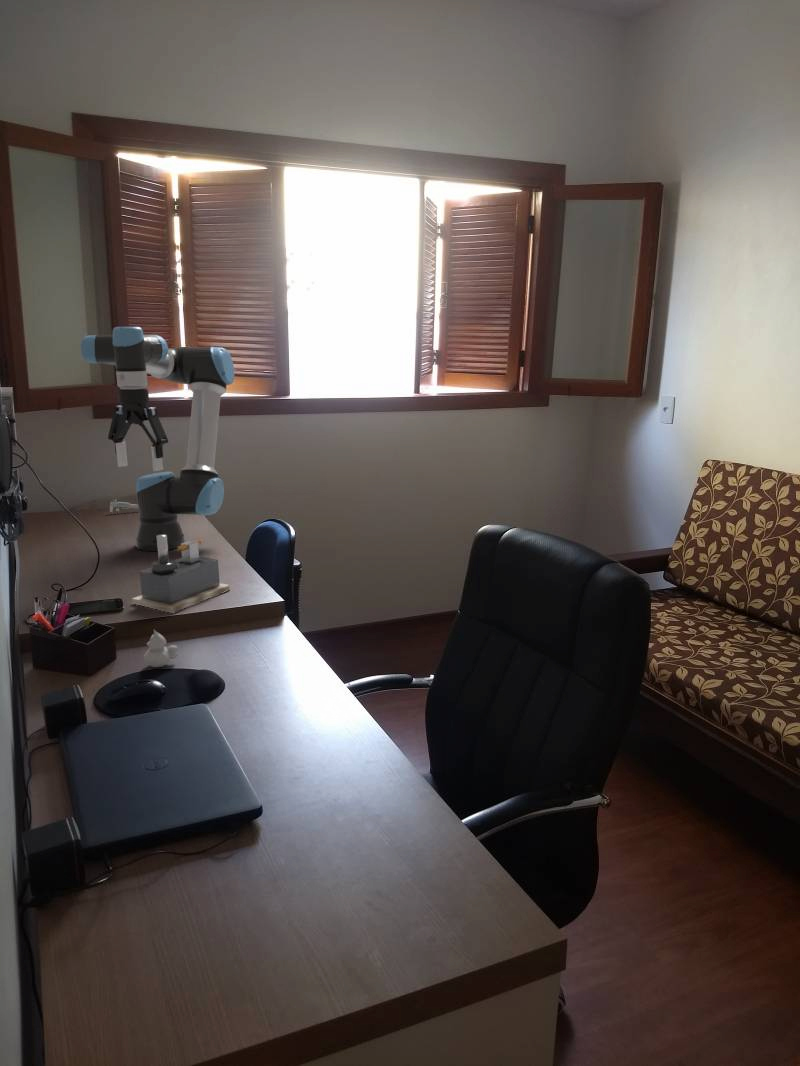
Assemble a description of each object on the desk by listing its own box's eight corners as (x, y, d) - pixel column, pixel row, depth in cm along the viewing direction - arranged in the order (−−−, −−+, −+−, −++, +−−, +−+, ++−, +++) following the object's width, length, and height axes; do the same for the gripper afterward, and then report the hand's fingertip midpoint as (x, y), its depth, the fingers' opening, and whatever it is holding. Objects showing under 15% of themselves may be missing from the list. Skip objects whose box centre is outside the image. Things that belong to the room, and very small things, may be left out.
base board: (191, 582, 208) (190, 577, 208) (229, 590, 201) (229, 585, 201) (132, 604, 191) (131, 598, 191) (172, 613, 185) (171, 607, 184)
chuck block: (191, 579, 206) (187, 521, 202) (219, 585, 201) (215, 526, 197) (142, 598, 191) (136, 536, 187) (170, 604, 186) (165, 541, 182)
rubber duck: (144, 662, 157) (140, 626, 155) (177, 657, 159) (174, 621, 157) (145, 673, 152) (142, 635, 150) (180, 667, 154) (177, 630, 152)
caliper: (110, 515, 289) (109, 499, 287) (110, 515, 290) (108, 499, 288) (166, 510, 298) (164, 494, 296) (165, 509, 298) (164, 493, 297)
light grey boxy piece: (197, 575, 202) (195, 539, 200) (206, 577, 201) (203, 540, 198) (178, 582, 197) (174, 545, 194) (186, 584, 195) (183, 546, 193)
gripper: (88, 387, 203) (97, 466, 208) (155, 390, 190) (162, 474, 196) (112, 385, 209) (119, 462, 214) (177, 388, 197) (184, 469, 202)
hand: (140, 468), depth 205 cm, fingers open, 13 cm apart
